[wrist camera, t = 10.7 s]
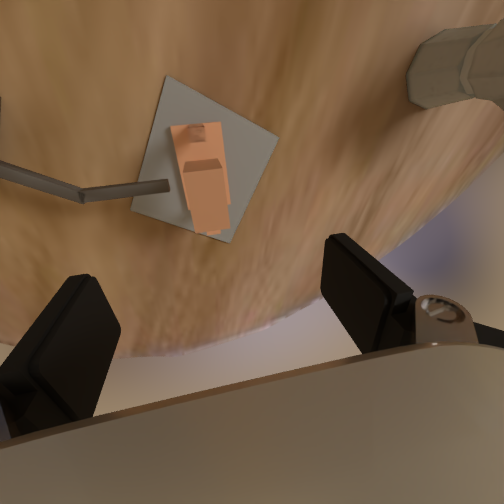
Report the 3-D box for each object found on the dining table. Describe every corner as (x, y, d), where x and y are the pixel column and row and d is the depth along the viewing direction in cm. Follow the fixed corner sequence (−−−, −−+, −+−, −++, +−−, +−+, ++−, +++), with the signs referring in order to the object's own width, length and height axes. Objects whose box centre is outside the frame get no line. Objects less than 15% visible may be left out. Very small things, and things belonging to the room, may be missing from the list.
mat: (167, 75, 27) (166, 74, 27) (278, 137, 33) (279, 137, 33) (130, 209, 34) (129, 210, 33) (229, 242, 39) (229, 243, 39)
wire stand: (-93, 57, 23) (-205, 35, 16) (176, 170, 32) (172, 183, 26) (-84, 159, 27) (-173, 174, 20) (155, 234, 36) (147, 259, 30)
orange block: (170, 125, 29) (151, 134, 16) (219, 121, 30) (238, 126, 17) (188, 207, 35) (184, 263, 22) (229, 201, 36) (250, 252, 22)
